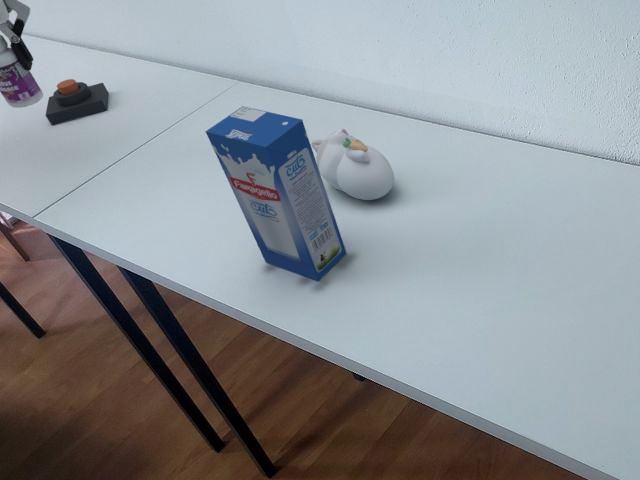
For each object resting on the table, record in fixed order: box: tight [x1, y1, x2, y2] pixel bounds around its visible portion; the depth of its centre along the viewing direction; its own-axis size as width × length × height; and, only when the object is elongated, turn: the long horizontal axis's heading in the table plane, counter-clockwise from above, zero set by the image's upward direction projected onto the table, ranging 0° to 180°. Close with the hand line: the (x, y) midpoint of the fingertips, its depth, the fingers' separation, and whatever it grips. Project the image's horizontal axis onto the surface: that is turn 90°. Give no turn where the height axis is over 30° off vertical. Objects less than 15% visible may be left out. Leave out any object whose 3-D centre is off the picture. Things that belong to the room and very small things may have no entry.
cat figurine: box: [310, 128, 395, 201], centre depth 96 cm, size 10×8×15 cm
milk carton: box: [205, 105, 348, 282], centre depth 81 cm, size 10×6×20 cm, turn 58°
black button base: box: [45, 81, 109, 126], centre depth 130 cm, size 11×9×4 cm
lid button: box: [56, 78, 80, 95], centre depth 128 cm, size 4×4×2 cm
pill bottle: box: [0, 34, 44, 109], centre depth 99 cm, size 5×5×10 cm
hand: (8, 70), depth 99 cm, fingers closed on pill bottle, 5 cm apart
